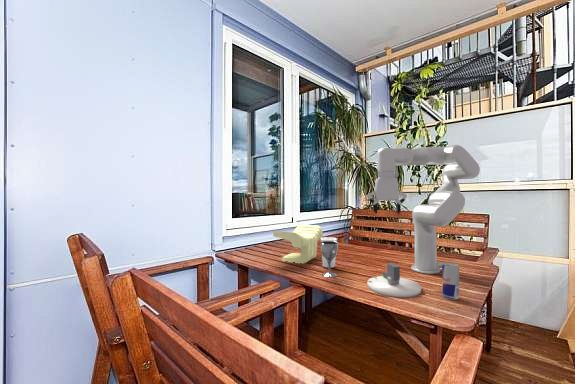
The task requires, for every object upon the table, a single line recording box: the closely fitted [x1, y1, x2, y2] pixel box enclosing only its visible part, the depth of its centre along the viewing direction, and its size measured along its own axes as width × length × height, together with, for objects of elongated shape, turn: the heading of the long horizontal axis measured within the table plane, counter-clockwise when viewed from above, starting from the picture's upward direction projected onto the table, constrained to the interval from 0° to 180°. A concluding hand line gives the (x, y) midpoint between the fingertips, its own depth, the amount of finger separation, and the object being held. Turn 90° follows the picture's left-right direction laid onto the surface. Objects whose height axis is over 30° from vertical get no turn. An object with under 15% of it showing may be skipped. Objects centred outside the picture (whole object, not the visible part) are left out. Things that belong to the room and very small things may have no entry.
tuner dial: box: [366, 275, 422, 298], centre depth 111 cm, size 20×20×2 cm
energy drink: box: [441, 262, 460, 301], centre depth 101 cm, size 5×5×12 cm
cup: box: [320, 236, 338, 268], centre depth 142 cm, size 8×8×14 cm
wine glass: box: [320, 241, 339, 278], centre depth 128 cm, size 8×8×15 cm
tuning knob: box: [382, 262, 401, 284], centre depth 115 cm, size 12×4×7 cm, turn 4°
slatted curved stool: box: [272, 224, 324, 264], centre depth 156 cm, size 30×16×18 cm, turn 151°
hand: (386, 213), depth 127 cm, fingers open, 9 cm apart
